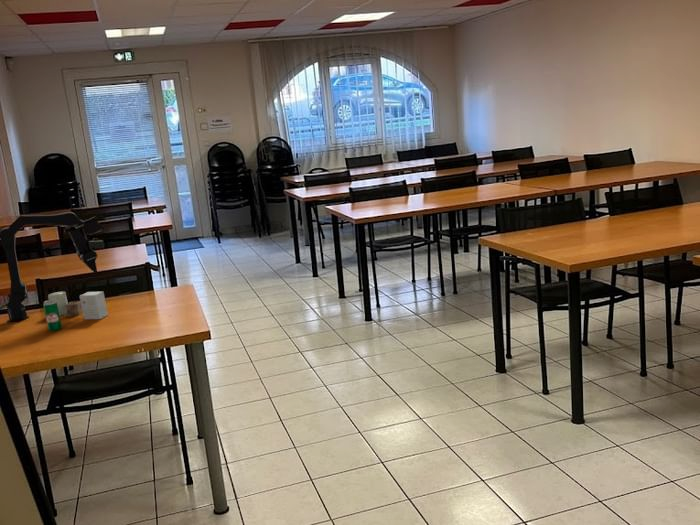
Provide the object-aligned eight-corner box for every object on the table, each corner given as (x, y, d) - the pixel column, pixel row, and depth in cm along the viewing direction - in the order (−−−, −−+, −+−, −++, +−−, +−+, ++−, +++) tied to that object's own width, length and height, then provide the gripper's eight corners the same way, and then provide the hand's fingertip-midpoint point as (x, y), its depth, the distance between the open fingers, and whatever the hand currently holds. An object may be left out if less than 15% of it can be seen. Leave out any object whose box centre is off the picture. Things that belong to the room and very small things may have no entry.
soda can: (47, 332, 259) (41, 303, 256) (49, 329, 263) (43, 300, 261) (61, 330, 260) (55, 301, 257) (63, 326, 265) (57, 298, 262)
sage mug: (68, 314, 283) (64, 294, 281) (51, 317, 281) (47, 297, 279) (70, 309, 291) (66, 290, 289) (53, 312, 289) (49, 292, 287)
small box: (108, 315, 275) (104, 291, 273) (100, 319, 270) (95, 295, 268) (92, 315, 278) (87, 291, 275) (83, 319, 272) (79, 295, 270)
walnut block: (67, 316, 280) (65, 305, 279) (71, 313, 285) (69, 302, 284) (79, 315, 280) (77, 304, 279) (83, 311, 285) (81, 300, 284)
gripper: (100, 233, 283) (115, 266, 287) (94, 230, 299) (108, 261, 303) (75, 244, 278) (91, 277, 283) (69, 240, 294) (84, 271, 299)
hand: (94, 271), depth 292 cm, fingers open, 9 cm apart
